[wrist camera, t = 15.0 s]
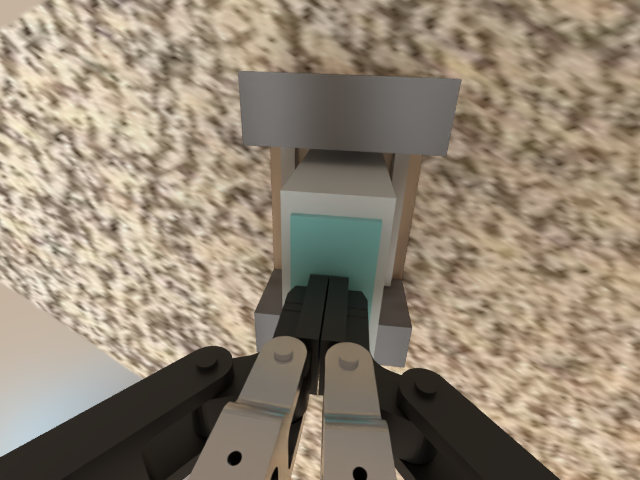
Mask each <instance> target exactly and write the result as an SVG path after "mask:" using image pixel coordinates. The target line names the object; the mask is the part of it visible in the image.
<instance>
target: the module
mask: <svg viewBox="0 0 640 480" xmlns="http://www.w3.org/2000/svg"><path fill="white" fill-rule="evenodd" d="M280 195H281V251H282V308H283V305H284V304H285V299H286V296H287V293H288V292H289V291H290V290H291V289H292V288H294V287H295V286H307V285H308V281H309V277H310V274H317V275H329V281H330V276H342V277H349V285H348V290H353V291H362V292H363V294H364V295H365V297H366V298H367V300H368V321H369V345H370V353H371V355H372V357H373V358H374V351H375V344H376V337H377V330H378V323H379V316H380V309H381V302H382V295H383V288H384V282H385V275H386V268H387V261H388V254H389V247H390V240H391V233H392V226H393V219H394V212H395V205H396V195H395V192H394V189H393V186H392V182H391V179H390V176H389V173H388V169H387V166H386V163H385V160H384V157H383V153H379V152H360V151H342V150H324V149H310V150H309V151H308V153H307V154H306V155H305V157H304V158H303V160H302V161H301V162H300V164H299V165H298V167H297V168H296V169H295V171H294V172H293V174H292V175H291V176H290V178H289V179H288V181H287V182H286V183H285V185H284V186H283V188H282V189H281V190H280ZM328 288H329V286H328Z"/></svg>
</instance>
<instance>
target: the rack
mask: <svg viewBox="0 0 640 480" xmlns="http://www.w3.org/2000/svg"><path fill="white" fill-rule="evenodd" d="M238 77H239V92H240V107H241V122H242V137H243V145H251V146H269V147H270V153H271V185H272V216H273V248H274V270H273V273H272V275H271V277H270V279H269V281H268V284H267V286H266V288H265V290H264V292H263V295H262V297H261V299H260V301H259V304H258V306H257V308H256V310H255V312H254V316H255V331H256V346H257V352H260V351H261V348H262V347H263V345H264V344H265V343H266V342H268V341H269V340H271V339H272V338H273V335H274V332H275V329H276V326H277V323H278V320H279V317H280V314H281V311H282V251H281V195H280V190H281V189H282V188H283V186H284V185H285V183H286V182H287V181H288V179H289V178H290V176H291V175H292V174H293V172H294V171H295V169H296V168H297V167H298V165H299V164H300V162H301V161H302V160H303V158H304V157H305V155H306V154H307V153H308V151H309V150H310V149H324V150H342V151H360V152H379V153H383V157H384V160H385V163H386V166H387V169H388V173H389V176H390V179H391V182H392V186H393V189H394V192H395V195H396V205H395V212H394V219H393V226H392V233H391V240H390V247H389V254H388V261H387V268H386V275H385V282H384V288H383V295H382V302H381V309H380V316H379V323H378V330H377V337H376V344H375V351H374V358H373V359H374V360H375V361H376V362H377V363H378V364H379V365H386V366H395V367H404V366H405V361H406V356H407V351H408V346H409V341H410V336H411V331H412V325H411V321H410V316H409V311H408V306H407V302H406V297H405V292H404V287H403V283H402V276H403V270H404V264H405V258H406V252H407V246H408V240H409V234H410V228H411V222H412V216H413V210H414V204H415V198H416V192H417V186H418V180H419V174H420V168H421V162H422V156H423V155H433V156H446V155H447V150H448V145H449V140H450V135H451V130H452V125H453V120H454V115H455V110H456V105H457V100H458V95H459V90H460V84H461V79H448V78H421V77H393V76H365V75H337V74H309V73H282V72H254V71H238Z"/></svg>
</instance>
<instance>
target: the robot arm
mask: <svg viewBox="0 0 640 480" xmlns="http://www.w3.org/2000/svg"><path fill="white" fill-rule="evenodd" d="M348 285H349V277H342V276H330V281H329V275H317V274H310V277H309V281H308V285H307V286H295V287H294V288H292V289H291V290H290V291H289V292H288V293H287V296H286V299H285V304H284V305H283V308H282V311H281V314H280V317H279V320H278V323H277V326H276V329H275V332H274V335H273V338H272V339H271V340H269V341H268V342H266V343H265V344H264V345H263V347H262V348H261V351H260V352H258V353H256V354H253V355H250V356H244V357H238V358H232V355H231V353H230V352H229V351H228V350H227V349H225V348H223V347H219V346H208V347H203V348H200V349H198V350H196V351H194V352H192V353H190V354H189V355H187V356H185V357H183V358H181V359H179V360H178V361H176V362H174V363H172V364H170V365H168V366H167V367H165V368H163V369H161V370H159V371H157V372H156V373H154V374H152V375H150V376H148V377H146V378H145V379H143V380H141V381H139V382H137V383H135V384H134V385H132V386H130V387H128V388H126V389H124V390H123V391H121V392H119V393H117V394H115V395H114V396H112V397H110V398H108V399H106V400H104V401H102V402H101V403H99V404H97V405H95V406H93V407H91V408H90V409H88V410H86V411H84V412H82V413H80V414H79V415H77V416H75V417H74V418H71V419H70V420H68V421H66V422H64V423H62V424H60V425H59V426H57V427H55V428H53V429H51V430H50V431H48V432H46V433H44V434H42V435H40V436H38V437H37V438H35V439H33V440H31V441H29V442H27V443H26V444H24V445H22V446H20V447H18V448H16V449H15V450H13V451H11V452H9V453H7V454H6V455H4V456H2V457H0V480H183V479H184V478H185V477H187V476H188V475H189V474H190V473H191V474H190V476H189V478H188V480H291V475H292V470H293V466H294V462H295V458H296V454H297V450H298V446H299V441H300V437H301V433H302V429H303V425H304V421H305V415H306V410H307V406H308V400H309V394H313V395H317V387H318V380H319V395H323V410H322V437H321V475H320V480H397V478H396V472H395V468H396V469H397V471H398V472H399V473H400V474H401V476H402V477H403V478H404V480H560V479H559V478H558V477H557V476H555V475H554V474H553V473H552V472H551V471H550V470H549V469H547V468H546V467H545V466H544V465H543V464H542V463H540V462H539V461H538V460H537V459H536V458H535V457H534V456H532V455H531V454H530V453H529V452H528V451H527V450H525V449H524V448H523V447H522V446H521V445H520V444H519V443H517V442H516V441H515V440H514V439H513V438H512V437H510V436H509V435H508V434H507V433H506V432H505V431H504V430H502V429H501V428H500V427H499V426H498V425H497V424H495V423H494V422H493V421H492V420H491V419H490V418H489V417H487V416H486V415H485V414H484V413H483V412H482V411H480V410H479V409H478V408H477V407H476V406H475V405H474V404H472V403H471V402H470V401H469V400H468V399H467V398H465V397H464V396H463V395H462V394H461V393H460V392H459V391H457V390H456V389H455V388H454V387H453V386H452V385H450V384H449V383H448V382H447V381H446V380H445V379H444V378H442V377H441V376H440V375H438V374H437V373H435V372H433V371H430V370H427V369H423V368H413V369H409V370H407V371H406V372H404V373H403V374H402V375H400V374H397V373H394V372H392V371H389V370H387V369H385V368H383V367H382V366H380V365H379V364H378V363H377V362H376V361H375V360H374V359H373V357H372V355H371V353H370V345H369V321H368V300H367V298H366V297H365V295H364V294H363V292H362V291H353V290H348ZM328 286H329V288H328ZM319 372H320V374H319Z"/></svg>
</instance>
